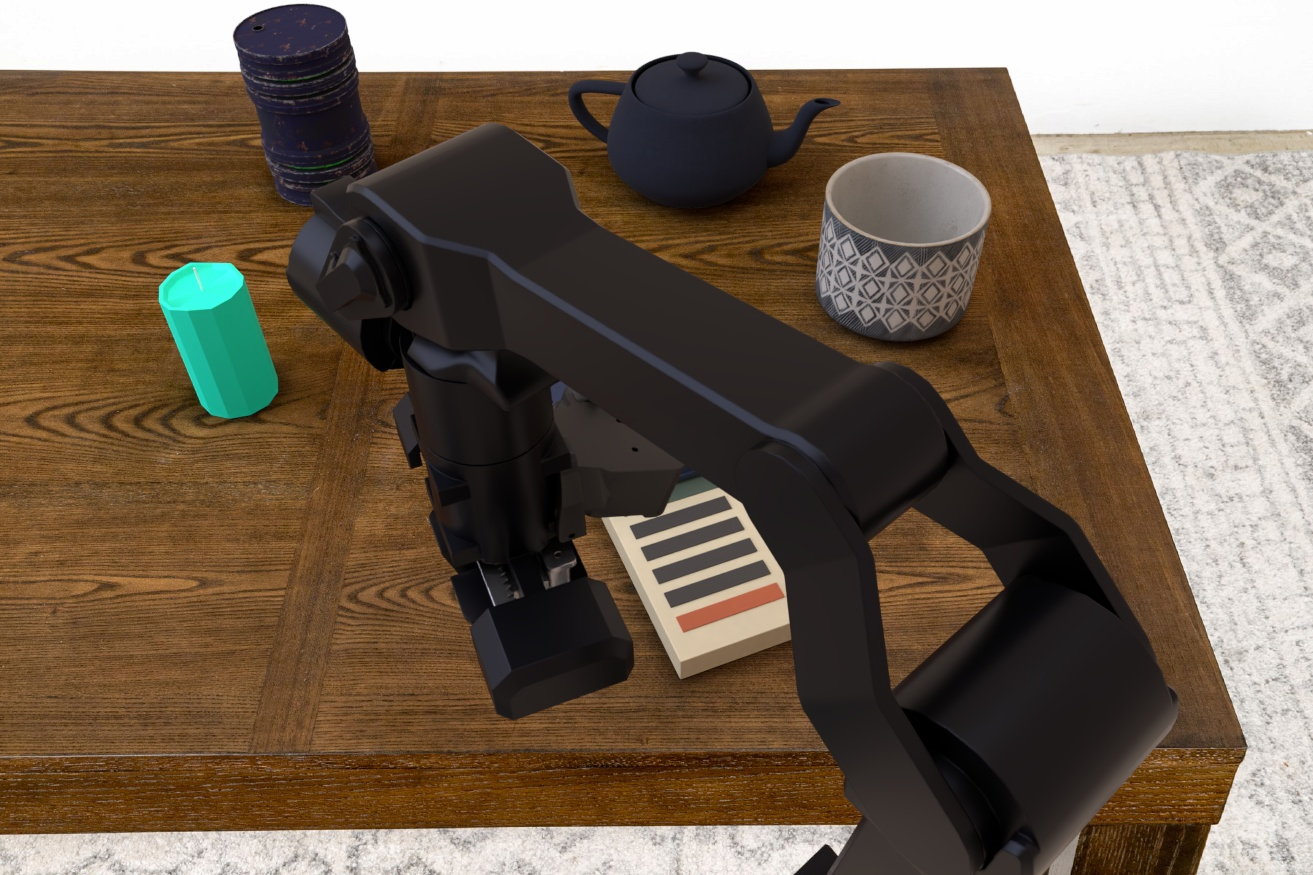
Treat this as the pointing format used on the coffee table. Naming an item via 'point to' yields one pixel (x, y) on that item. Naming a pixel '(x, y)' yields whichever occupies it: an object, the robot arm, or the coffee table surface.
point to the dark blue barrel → (305, 97)
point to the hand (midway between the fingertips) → (520, 629)
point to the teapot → (692, 129)
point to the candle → (219, 338)
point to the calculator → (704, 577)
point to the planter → (900, 245)
